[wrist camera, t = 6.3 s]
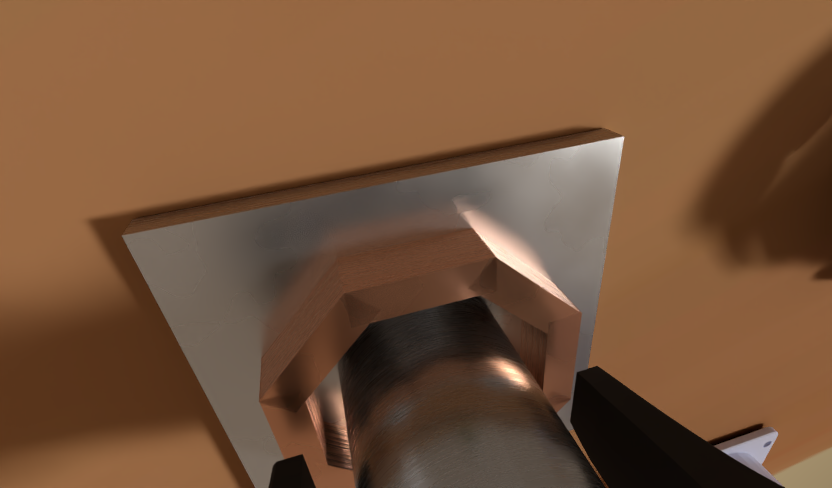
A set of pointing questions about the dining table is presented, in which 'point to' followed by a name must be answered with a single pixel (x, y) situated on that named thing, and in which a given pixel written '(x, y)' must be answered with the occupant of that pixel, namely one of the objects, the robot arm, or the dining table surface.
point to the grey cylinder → (452, 407)
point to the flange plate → (379, 281)
